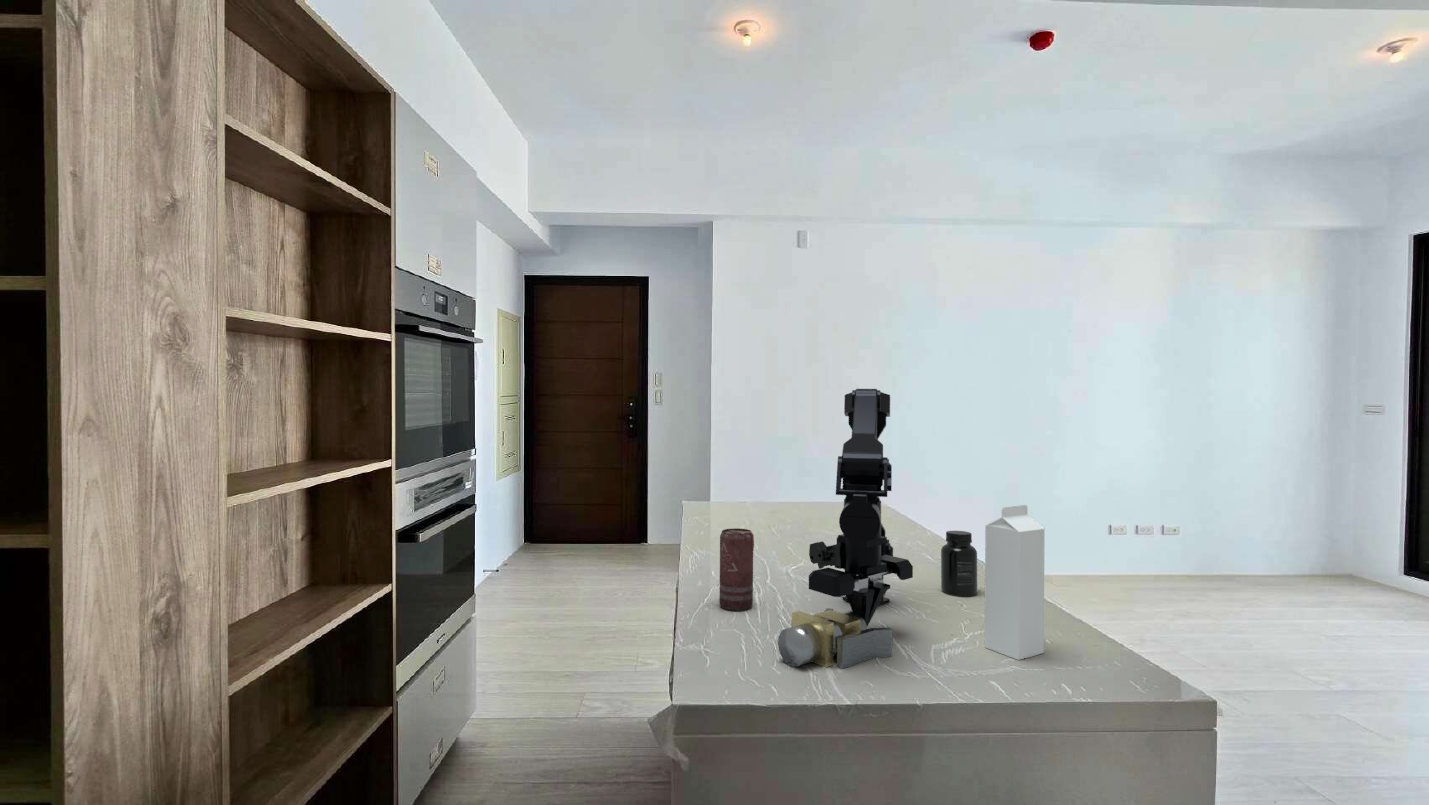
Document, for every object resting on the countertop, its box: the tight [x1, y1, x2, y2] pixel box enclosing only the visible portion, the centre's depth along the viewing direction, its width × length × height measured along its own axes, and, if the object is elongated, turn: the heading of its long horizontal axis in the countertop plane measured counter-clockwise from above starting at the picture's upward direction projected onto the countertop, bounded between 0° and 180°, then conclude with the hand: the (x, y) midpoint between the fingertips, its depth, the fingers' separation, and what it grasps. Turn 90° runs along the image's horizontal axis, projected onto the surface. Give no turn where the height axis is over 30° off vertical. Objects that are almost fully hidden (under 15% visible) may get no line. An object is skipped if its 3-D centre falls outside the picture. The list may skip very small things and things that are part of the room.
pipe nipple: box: [814, 609, 869, 658], centre depth 100 cm, size 8×6×5 cm
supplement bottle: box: [940, 530, 978, 597], centre depth 133 cm, size 7×7×12 cm
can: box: [718, 527, 755, 612], centre depth 122 cm, size 6×6×14 cm
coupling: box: [777, 607, 893, 670], centre depth 99 cm, size 15×13×6 cm
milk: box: [984, 504, 1046, 661], centre depth 101 cm, size 6×6×22 cm
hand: (862, 629), depth 104 cm, fingers closed
